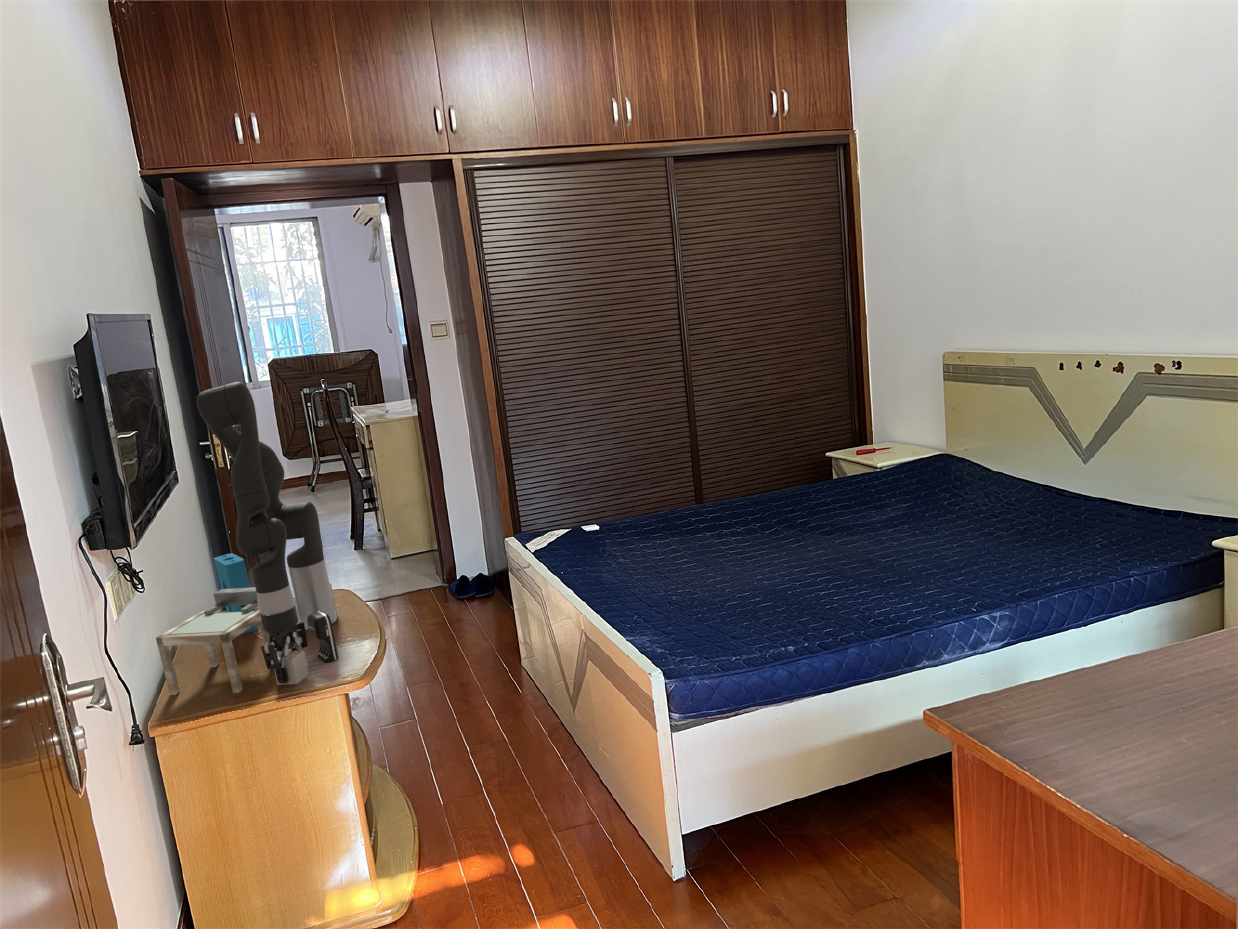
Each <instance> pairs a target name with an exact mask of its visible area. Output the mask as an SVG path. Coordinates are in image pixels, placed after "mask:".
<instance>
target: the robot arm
mask: <svg viewBox="0 0 1238 929" xmlns="http://www.w3.org/2000/svg"><path fill="white" fill-rule="evenodd" d="M196 406H197V409H198V413H199V414H200V416H201V418H202V420H203V421H204V423H205V424H206V426H207V427H208V429H209V430H210V432H212V434H213V435H214V436H215V438H217V440H218V442H219V443H220V444H221V445H222V446H223V447H224V448H223V449H225V450H226V452H227V453H228V455H229V456H230V458H231V460H232V461H233V463H232V466H231V471H230V485H231V490H232V493H233V497H234V502H235V508H236V520H237V521H236V532H235V545H236V548H237V551H239V552H240V554H242V555H243V556H245V557H252V556H256V555H260V554H265V553H269V552H272V554H271V555H270V557H269V558H268V559H266V560H264V561H261V562H259V563H257V564H256V565H254V567H252V570H251V574H252V578H253V582H254V583H253V584H254V587H255V588H256V593H257V602H258V606H257V607H258V610H259V611H260V616H261V620H262V625H263V629H264V631H266V632H267V633H269V643H267V644H266V645H265V644H262V645H261V647H260V649H261V652H262V653H261V654H262V655H263V658H264V661H265V666H266V669H267V670H274V669H275V672H276V676H277V681H278V682H279V683H280V684H282V683H287V682H288V681H289V680H288V675H287V670H286V667H285V658H286V657H287V656H288V651H297V650H304V651H305V648H307V647H308V639H307V632H306V630H307V631H309V629H308V623H307V617H308V616H309V615H310V614H312V613H315V612H317V611H322V612H325V613H326V614H328V615H329V617H330V619H331V623H332V625H333V624H334V623H335V622H337V620H338V618H337V617H338V610H337V606H336V601H335V596H334V592H333V587H332V586H333V585H332V583H330V580H329V579H330V578H329V575H328V574H329V573H328V569H327V566H326V560H325V556H324V546H323V540H322V533H321V528H320V521H319V520H320V519H319V515H318V511H317V509H316V506H315V504H313V503H312V501H311V502H310V501H302V502H294V503H288V504H284V503H283V502H282V501H281V500H280V498H279V496H280V493H281V489H282V487H283V483H284V481H285V480H284V479H285V470H284V469H285V468H284V467H283V465H282V463H281V461H280V459H279V457H278V456H277V454H276V453H275V451H274V450H273V448H271V446H269V445H267V444H266V443H264V442H263V441H260V439H259V429H258V422H257V421H258V419H257V413H256V411H257V410H256V407H255V402H254V399H253V396H252V393H251V391H250V390H249V388H248V386H247V385H246V384H245V383H243V382H241V381H235V382H230V383H227V384H224V385H219V386H215V387H213V388H212V387H211V388H208V389H206V390H203V391H200V392H199V393H198V395H197V397H196ZM235 425H240V428H241V429H240V430H241V431H239V430H238V429H237V428H236V427H235ZM261 512H264V515H265V516H266V519H262V520H259V521H255V522H254V521H253V522H251V523H250V520H251V518H252V517H253V516H255V515H256V514H258V513H261ZM295 539H303V545H302V546H301V547H299V548H297V549H295V550H293V551H292V552H290V553H289V554H287V556H286V546H287V540H288V541H289V540H295ZM286 563H287V566H286ZM287 568H288V573H289V577H288V573H287ZM289 578H290V581H291V582H290V581H289ZM290 583H291V586H290ZM291 587H292V588H291ZM294 599H295V600H294ZM300 638H301V640H300ZM276 652H277V653H276ZM279 657H280V663H279V661H278V658H279ZM271 660H272V663H271ZM275 672H274V673H275ZM276 676H275V677H276ZM277 681H276V682H277Z"/></svg>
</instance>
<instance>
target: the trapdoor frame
mask: <svg viewBox="0 0 1238 929" xmlns="http://www.w3.org/2000/svg"><path fill="white" fill-rule="evenodd" d="M204 611H205V610H203V611H202V610H201V611H199V612H197V613H196V614H194V615H192V616H191V617H189V618H187V619H185V620H184V621H182V622H180V623H178V624H177V625H176V626H174V627H172V628H171V629H169V630H167V631H165V632H164V633H162V634H160V635H158V636H157V637H155V640H156V644H157V648H158V652H159V657H160V661H161V665H162V667H163V668H162V669H163V672H164V677H165V680H166V685H167V687H168V692H169V696H177V694H179V693H181V689H180V687H179V683H178V678H177V675H176V670H175V665H174V662H173V659H172V654H171V650H170V647H171V646H173V647H174V646H192V645H204V647H205V651H206V655H207V660H208V664H209V668H216V667H218V666H219V665H220V662H219V658H218V653H217V652H218V651H217V648H216V645H215V644H221V648H222V651H223V655H224V660H225V664H226V667H227V668H226V669H227V672H228V677H229V682H230V685H231V690H232V694H240V693H241V692H242V691H243V690H244V688H243V684H242V680H241V675H240V671H239V666H238V662H237V658H236V654H235V648H234V645H233V641H232V640H234V639H236V638H237V637H239V636H241V635H240V634H241V633H243V632H244V631H246V630H247V629H249V628H250V627H252V626H258V627H261V631H262V636H263V641H264V645H266V644H267V643H269V633H267V632H266V631H264V629H263V625H262V620H261V616H260V611H259V609H257V610H255V612H254V613H252V614H251V615H249V616H248V617H246V618H245V619H243V620H242V621H240V622H238V623H237V624H235V625H234V626H232V627H231V628H229V629H228V630H226V631H225V632H216V633H197V634H177V635H169V634H170V633H172V632H174V631H175V630H177V629H179V628H180V627H182V626H184V625H185V624H187V623H189V622H190V621H192V620H194V619H196V618H197V617H199V616H201V615H202V614H205V613H204ZM276 653H277V654H278V651H277V652H276ZM271 663H272V660H271Z"/></svg>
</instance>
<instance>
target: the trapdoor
mask: <svg viewBox="0 0 1238 929" xmlns="http://www.w3.org/2000/svg"><path fill="white" fill-rule="evenodd" d="M213 598H214V601H215V604H214V605H212V606H210V607H209V608H207V609H206V610H203V611H204V613H205V614H202V615H201V616H199V617H197V618H196V619H194V620H192V621H190V622H189V623H187V624H185V625H184V626H182V627H180V628H179V629H177V630H175V631H174V632H172V633H170V634H169V635H177V634H197V633H216V632H225V631H226V630H228V629H229V628H231V627H232V626H234V625H235V624H237V623H238V622H240V621H242V620H243V619H245V618H246V617H248V616H249V615H251V614H252V613H254V612H255V611H256V610H255V611H251V610H253V609H254V608H255V609H256V608H257V607H258V602H257V593H256V588H255V586H254V587H251V586H250V588H235V589H221V588H220V589H219V590H217V591H216V592H215V593H213ZM240 605H247V606H245V607H244V608H242V609H241V612H229V613H227V612H219V611H220V610H221V609H223V608H225V606H240ZM217 611H218V612H217Z"/></svg>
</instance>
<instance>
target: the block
mask: <svg viewBox="0 0 1238 929" xmlns="http://www.w3.org/2000/svg"><path fill="white" fill-rule="evenodd" d="M213 561H214V565H215V570H216V574H217V578H218V579H217V580H218V582H219V585H220V587H219V588H220V590H221V589H235V588H251V584H250V581H249V575H248V571H247V570H248V569H247V567H246V561H245V558H243V557H240V556H239V555H237V554H234V553H233V552H231V553H226V554H223V555H219V556H216V557H214V558H213ZM245 606H247V605H240V606H225V607H224V608H225V610H226V613H229V612H241V609H242V608H244V607H245ZM251 611H256V608H254V609H253V610H251ZM258 629H259V626H252V627H250V628H249V629H247V630H246V631H244V632H243V633H241V634H240V635H239V636H241V635H242V636H243V635H246V634H248V633H253V632H254V631H258Z"/></svg>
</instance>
